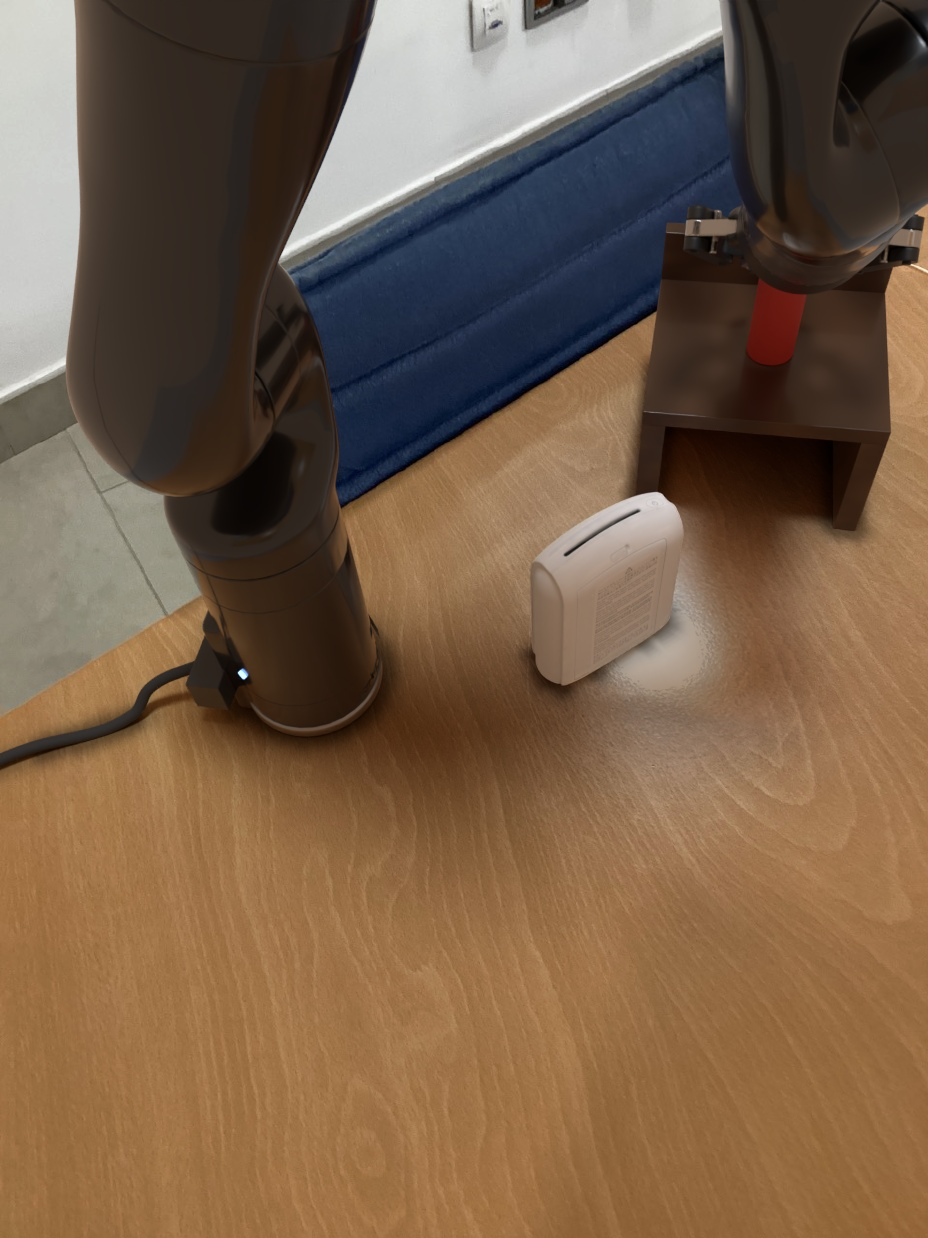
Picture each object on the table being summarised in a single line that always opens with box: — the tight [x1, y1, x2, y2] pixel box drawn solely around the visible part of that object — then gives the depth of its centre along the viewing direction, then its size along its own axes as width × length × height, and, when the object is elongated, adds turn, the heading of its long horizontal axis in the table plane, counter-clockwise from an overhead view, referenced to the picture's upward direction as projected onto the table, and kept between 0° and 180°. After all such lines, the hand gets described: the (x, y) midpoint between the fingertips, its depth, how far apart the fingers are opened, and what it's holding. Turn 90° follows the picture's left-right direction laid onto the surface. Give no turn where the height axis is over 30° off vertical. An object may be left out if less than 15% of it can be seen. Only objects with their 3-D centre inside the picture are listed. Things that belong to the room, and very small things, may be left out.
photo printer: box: [529, 491, 685, 686], centre depth 68 cm, size 10×4×12 cm, turn 123°
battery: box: [746, 278, 807, 366], centre depth 70 cm, size 3×3×10 cm
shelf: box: [634, 222, 894, 531], centre depth 77 cm, size 16×15×14 cm
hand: (784, 258), depth 70 cm, fingers closed on battery, 3 cm apart
